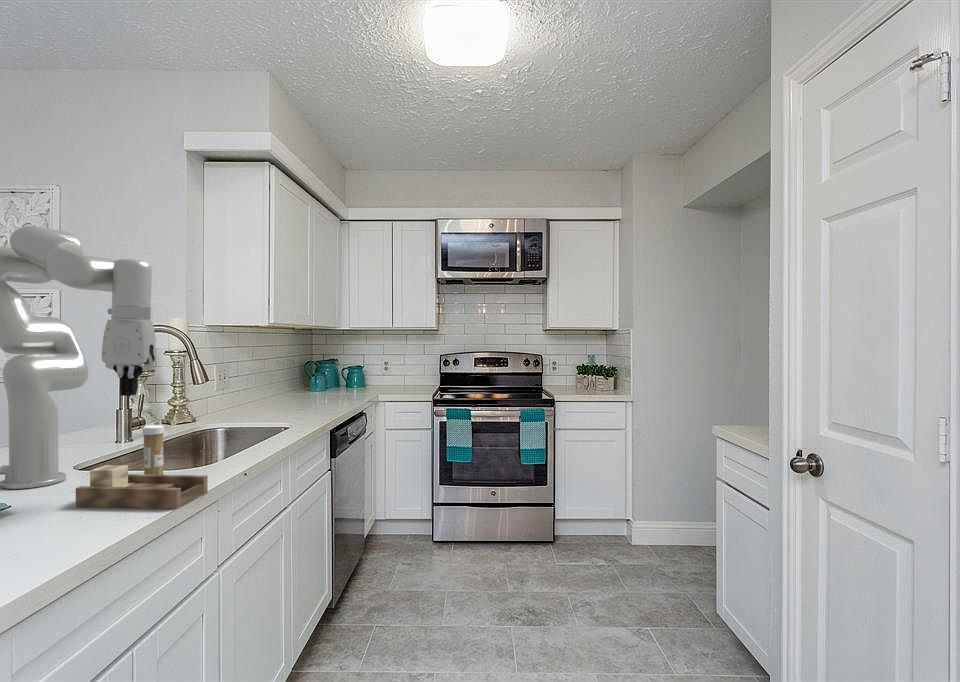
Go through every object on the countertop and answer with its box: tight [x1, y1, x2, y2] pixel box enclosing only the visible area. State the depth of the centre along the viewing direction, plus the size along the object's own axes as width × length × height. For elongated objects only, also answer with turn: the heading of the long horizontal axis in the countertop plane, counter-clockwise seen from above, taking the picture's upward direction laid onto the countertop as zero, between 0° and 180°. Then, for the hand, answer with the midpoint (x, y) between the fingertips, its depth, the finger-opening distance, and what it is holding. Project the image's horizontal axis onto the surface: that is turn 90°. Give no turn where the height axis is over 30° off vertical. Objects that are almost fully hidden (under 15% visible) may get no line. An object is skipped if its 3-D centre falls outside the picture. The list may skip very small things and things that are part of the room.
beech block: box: [89, 464, 129, 487], centre depth 124 cm, size 5×5×4 cm
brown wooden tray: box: [75, 473, 209, 510], centre depth 124 cm, size 22×12×4 cm, turn 87°
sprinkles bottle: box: [142, 424, 165, 475], centre depth 141 cm, size 5×5×14 cm
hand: (128, 394), depth 128 cm, fingers closed
